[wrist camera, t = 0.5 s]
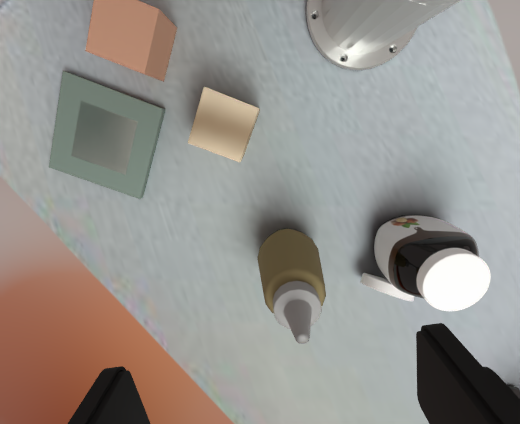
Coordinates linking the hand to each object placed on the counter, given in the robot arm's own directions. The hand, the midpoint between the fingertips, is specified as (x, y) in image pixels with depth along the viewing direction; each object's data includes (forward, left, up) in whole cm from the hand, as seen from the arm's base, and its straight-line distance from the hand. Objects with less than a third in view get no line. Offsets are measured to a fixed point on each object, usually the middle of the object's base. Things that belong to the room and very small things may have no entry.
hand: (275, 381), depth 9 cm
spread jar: (+3, +21, -31) cm, 37 cm away
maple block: (-5, -7, -31) cm, 32 cm away
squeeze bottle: (+8, +6, -31) cm, 32 cm away
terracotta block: (-10, -19, -31) cm, 38 cm away
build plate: (+2, -21, -31) cm, 37 cm away
